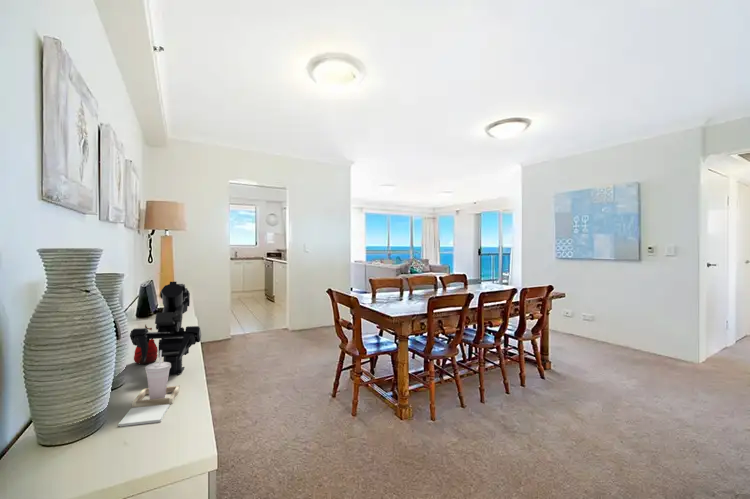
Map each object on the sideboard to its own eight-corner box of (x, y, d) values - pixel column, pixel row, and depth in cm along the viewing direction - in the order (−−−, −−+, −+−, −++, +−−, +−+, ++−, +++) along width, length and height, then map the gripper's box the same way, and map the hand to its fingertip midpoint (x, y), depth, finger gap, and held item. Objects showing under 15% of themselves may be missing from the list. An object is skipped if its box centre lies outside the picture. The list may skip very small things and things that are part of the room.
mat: (131, 410, 92) (131, 408, 92) (169, 406, 95) (169, 404, 95) (118, 426, 84) (118, 424, 84) (160, 421, 87) (160, 419, 87)
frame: (143, 393, 103) (143, 388, 103) (179, 390, 106) (179, 385, 106) (132, 407, 94) (132, 402, 94) (172, 403, 97) (172, 398, 97)
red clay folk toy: (159, 359, 135) (160, 320, 136) (154, 364, 129) (155, 324, 129) (136, 360, 133) (137, 321, 133) (130, 366, 126) (131, 325, 126)
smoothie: (157, 404, 96) (159, 354, 96) (138, 402, 97) (140, 352, 97) (175, 395, 102) (177, 348, 102) (157, 393, 104) (158, 346, 104)
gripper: (132, 302, 105) (117, 348, 94) (200, 300, 111) (193, 344, 100) (140, 323, 112) (127, 368, 102) (203, 320, 118) (197, 363, 108)
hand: (161, 360), depth 103 cm, fingers open, 9 cm apart
